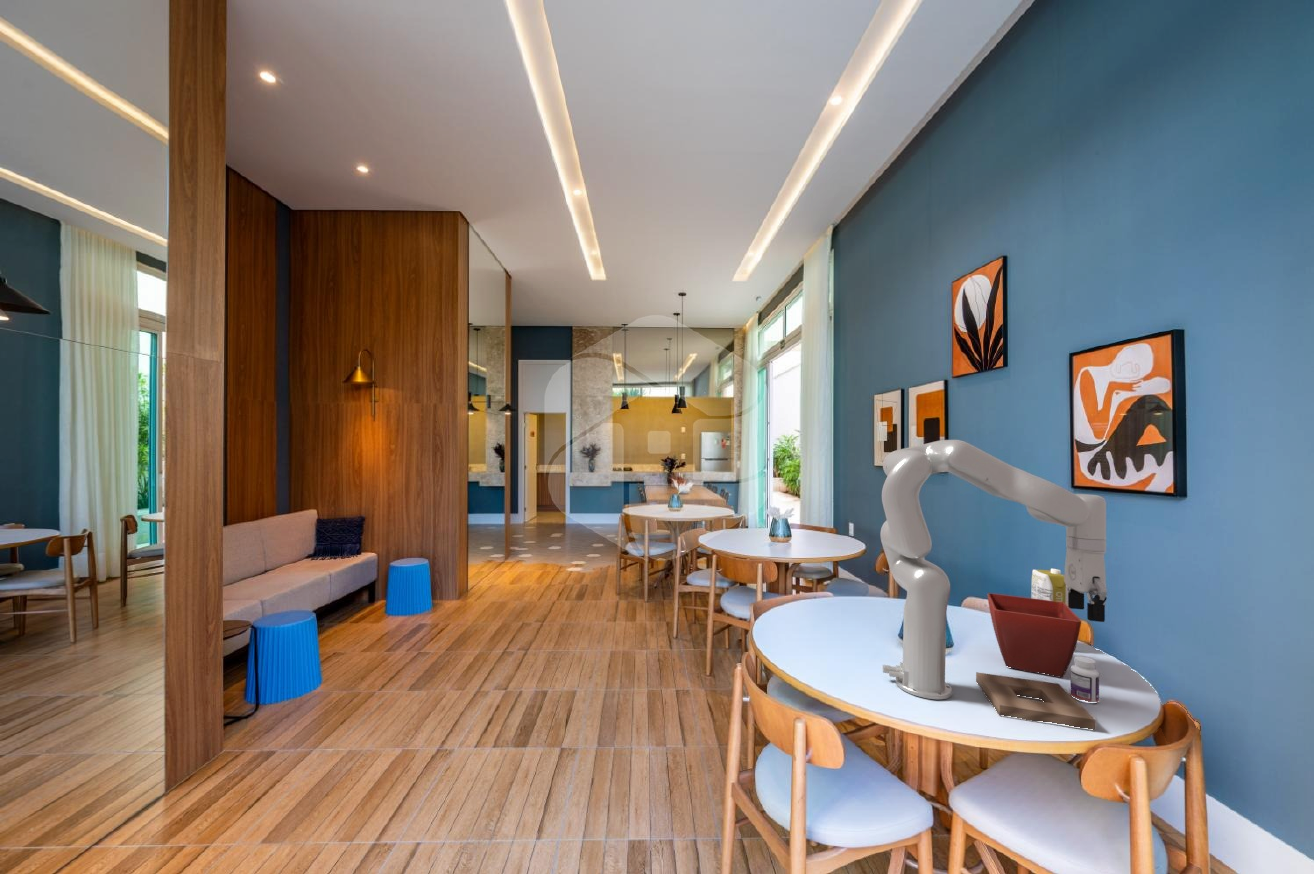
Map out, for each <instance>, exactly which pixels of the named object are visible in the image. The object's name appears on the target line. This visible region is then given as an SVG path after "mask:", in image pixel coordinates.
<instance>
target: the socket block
mask: <svg viewBox="0 0 1314 874" xmlns="http://www.w3.org/2000/svg"><path fill="white" fill-rule="evenodd" d="M975 674H976V675H975V682H977V683H978V684H977V683H976V684H977V685H978V687H979V686H980V687H981V688H980V687H979V688H980V690H981V689H982V690H981V691H982V693H983V692H984V693H985V694H984V693H983V694H984V696H985V695H986V696H987V697H986V696H985V697H986V698H988V699H989V700H990V701H989V700H988V699H987V700H988V701H989V703H990V702H991V703H992V704H991V703H990V704H991V706H992V705H993V706H992V707H993V708H994V707H995V709H996V710H995V709H994V710H995V712H996V711H997V712H996V713H997V714H999V715H1004V716H1011V717H1017V718H1022V719H1026V720H1025V721H1027V720H1032V721H1031V722H1033V721H1043V722H1052V723H1057V724H1065V725H1069V726H1074V727H1080V728H1088V729H1093V730H1095V731H1097V729H1096V728H1097V726H1096V725H1097V724H1096V723H1097V720H1096V719H1095V718H1094V716H1093V715H1092V714H1090V713H1089V711H1087V710H1086V708H1084V707H1083V706H1082V705H1081V704H1080V703H1079V701H1078V700H1076V699H1074V698H1073V697H1072V696H1071V693H1069V692H1068V691H1066V689H1064V687H1062V686H1061V685H1060V683H1056V682H1049V681H1041V680H1035V679H1028V678H1027V679H1025V678H1020V677H1012V676H1004V675H999V674H992V673H984V672H977V671H976V672H975ZM1017 695H1020V696H1026V697H1032V698H1039V699H1042V700H1043V701H1044V702H1043V701H1042V700H1036V699H1030V698H1023V697H1018V696H1017ZM999 715H998V716H999ZM1095 731H1094V732H1095Z"/></svg>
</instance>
